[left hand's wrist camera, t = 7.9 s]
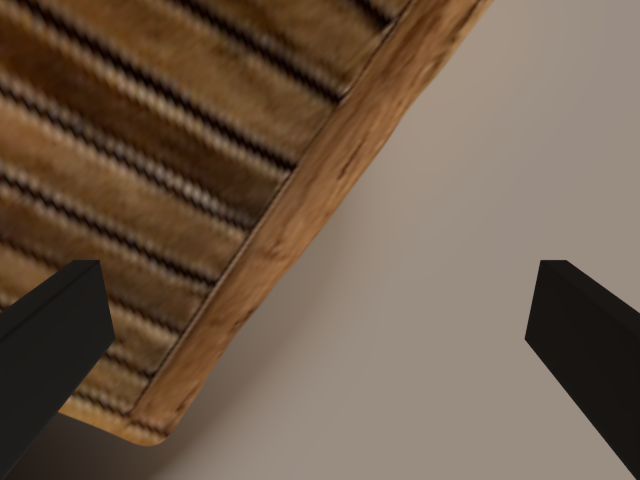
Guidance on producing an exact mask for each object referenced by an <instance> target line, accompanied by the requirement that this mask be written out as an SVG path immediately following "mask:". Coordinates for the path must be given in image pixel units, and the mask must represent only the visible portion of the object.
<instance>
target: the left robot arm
mask: <svg viewBox="0 0 640 480" xmlns="http://www.w3.org/2000/svg"><path fill="white" fill-rule="evenodd" d="M114 340H115V335H114V330H113V325H112V320H111V315H110V310H109V305H108V300H107V295H106V290H105V285H104V281H103V276H102V271H101V266H100V261H99V260H73V261H72V262H70V263H69V264H68V265H66V266H65V267H63V268H62V269H61V270H59V271H58V272H57V273H55V274H54V275H52V276H51V277H50V278H48V279H47V280H46V281H44V282H43V283H41V284H40V285H39V286H37V287H36V288H34V289H33V290H32V291H30V292H29V293H28V294H26V295H25V296H23V297H22V298H21V299H19V300H18V301H17V302H15V303H14V304H12V305H11V306H10V307H8V308H7V309H5V310H4V311H3V312H1V313H0V480H4V479H5V477H6V476H7V475H8V473H9V472H10V471H11V470H12V468H13V467H14V466H15V465H16V464H17V462H18V461H19V460H20V458H21V457H22V456H23V455H24V453H25V452H26V451H27V450H28V448H29V447H30V446H31V445H32V443H33V442H34V441H35V440H36V438H37V437H38V436H39V435H40V433H41V432H42V431H43V430H44V428H45V427H46V426H47V424H48V423H49V422H50V421H51V419H52V418H53V417H54V416H55V414H56V413H57V412H58V411H59V409H60V408H61V407H62V406H63V404H64V403H65V402H66V401H67V399H68V398H69V397H70V396H71V394H72V393H73V392H74V391H75V389H76V388H77V387H78V386H79V384H80V383H81V382H82V380H83V379H84V378H85V377H86V375H87V374H88V373H89V372H90V370H91V369H92V368H93V367H94V365H95V364H96V363H97V362H98V360H99V359H100V358H101V357H102V355H103V354H104V353H105V352H106V350H107V349H108V348H109V347H110V345H111V344H112V343H113V341H114ZM525 340H526V341H527V343H528V344H529V345H530V347H531V348H532V349H533V350H534V352H535V353H536V354H537V355H538V357H539V358H540V359H541V360H542V362H543V363H544V364H545V365H546V367H547V368H548V369H549V370H550V372H551V373H552V374H553V375H554V377H555V378H556V379H557V380H558V382H559V383H560V384H561V386H562V387H563V388H564V389H565V391H566V392H567V393H568V394H569V396H570V397H571V398H572V399H573V401H574V402H575V403H576V404H577V406H578V407H579V408H580V409H581V411H582V412H583V413H584V414H585V416H586V417H587V418H588V419H589V421H590V422H591V423H592V425H593V426H594V427H595V428H596V429H597V431H598V432H599V433H600V435H601V436H602V437H603V438H604V440H605V441H606V442H607V443H608V445H609V446H610V447H611V448H612V450H613V451H614V452H615V453H616V455H617V456H618V457H619V458H620V460H621V461H622V462H623V463H624V465H625V466H626V467H627V469H628V470H629V471H630V472H631V473H632V475H633V476H634V477H635V478H636V480H640V313H639V312H637V311H636V310H635V309H633V308H632V307H630V306H629V305H628V304H626V303H625V302H623V301H622V300H621V299H619V298H618V297H617V296H615V295H614V294H612V293H611V292H610V291H608V290H607V289H606V288H604V287H603V286H601V285H600V284H599V283H597V282H596V281H594V280H593V279H592V278H590V277H589V276H588V275H586V274H585V273H583V272H582V271H580V270H579V269H578V268H577V267H575V266H574V265H572V264H571V263H570V262H568V261H567V260H541V261H540V266H539V271H538V276H537V281H536V285H535V290H534V295H533V300H532V305H531V310H530V315H529V320H528V325H527V330H526V335H525Z"/></svg>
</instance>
